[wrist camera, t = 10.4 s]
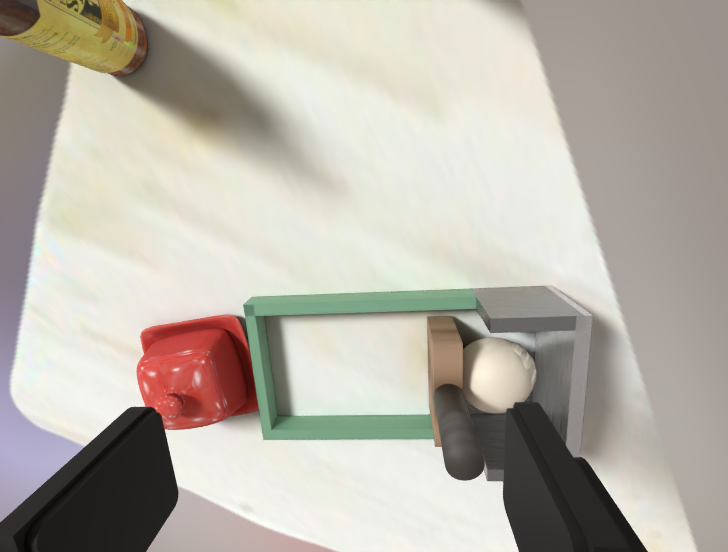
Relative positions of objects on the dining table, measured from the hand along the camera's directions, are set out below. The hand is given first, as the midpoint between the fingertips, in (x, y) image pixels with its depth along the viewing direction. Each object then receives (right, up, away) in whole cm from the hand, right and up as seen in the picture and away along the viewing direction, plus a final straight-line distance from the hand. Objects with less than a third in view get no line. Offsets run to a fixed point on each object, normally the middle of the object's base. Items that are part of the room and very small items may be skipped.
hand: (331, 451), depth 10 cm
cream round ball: (+13, -4, +30) cm, 33 cm away
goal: (+16, -4, +29) cm, 33 cm away
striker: (+9, -4, +30) cm, 31 cm away
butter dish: (-16, -5, +32) cm, 37 cm away
